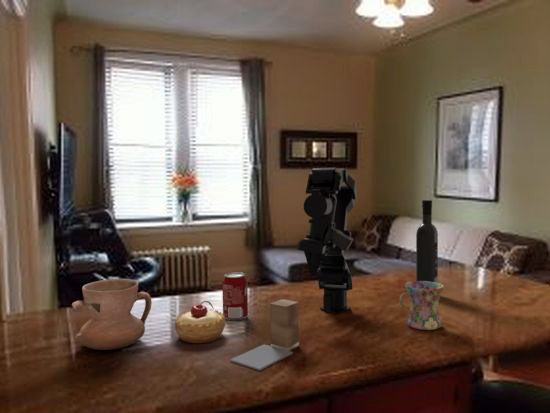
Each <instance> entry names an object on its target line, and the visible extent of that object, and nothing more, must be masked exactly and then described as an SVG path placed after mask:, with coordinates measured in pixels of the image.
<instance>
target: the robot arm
mask: <svg viewBox="0 0 550 413" xmlns="http://www.w3.org/2000/svg"><path fill="white" fill-rule="evenodd" d="M342 183H344V184H342ZM356 184H357V182H356V181H355V180H354V179H353V178H352V176H351V175H349V172H348V169H347V168H337V167H313V168H312V169H311V172H309V174H308V178H307V183H306V189H305V194H306V195H308V196H307V197H306V198H305V199H304V202H303V210H304V213H305V214H306V215H307V216H308V217H310V218H309V219H308V223H309V231H308V233H307V234H306V237H305V238H302V239H300V240H299V241H298V244H297V250H298V251H302V252H303V253H304V256H305V259H306V264H307V267H308V271H309V272H308V273H309V276H310V277H315V276H317V279H318V280H317V281H318V289H319V290H323V297H322V303H323V306H320V307H319V309H320V310H321V311H325V312H328V313H332V314H340V313H341V314H342V313H344V312H346V311H349V310H352V308H351V307H350V306H348V305H347V304H348V300H347V297H348V296H347V295H348V294H347V291H348V292H349V291H352V290H353V277H352V274H351V272H350V269H349V266H348V264H347V260H346V258H345V252H346V251H348V250H349V248H350V247H351V245H352V243H353V241H354V238H353V237H352V232H351V231H350V230H348V228H347V226H348V216H349V214H350V213H351V211H352V210H353V209H354V207H355V201H356V200H357V199H358V197H357V196H358V190H357V185H356ZM327 246H328V249H326V248H327ZM316 274H317V275H316Z"/></svg>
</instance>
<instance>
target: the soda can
mask: <svg viewBox="0 0 550 413" xmlns="http://www.w3.org/2000/svg"><path fill="white" fill-rule="evenodd" d="M223 275H224V278H223V280H222V281H221V282H222V284H221V285H222V290H221V291H222V314H223V315H224V316H225V320H228V321H231V322H236V321H243V320H244V319H245V318H246V319H247V317H248V316H249V306H248V305H249V302H248V301H249V300H248V298H249V297H248V294H249V293H248V280H247V278H246V274H245V273H243V272H227V273H225V274H223Z"/></svg>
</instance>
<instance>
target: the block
mask: <svg viewBox="0 0 550 413" xmlns="http://www.w3.org/2000/svg"><path fill="white" fill-rule="evenodd" d="M269 306H270V307H269V310H270V311H269V312H270V313H269V314H270V315H269V316H270V318H269V319H270V320H269V321H270V322H269V324H270V346H273V347H276V348H280V349H284V350H287V351H292V350H294V349H296V348H297V347H299V344H300V339H299V338H300V331H299V329H300V328H299V327H300V326H299V301H294V300H289V299H284V298H283V299H282V298H281V299H279V300H276V301H273V302H271V303H269Z"/></svg>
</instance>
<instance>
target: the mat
mask: <svg viewBox="0 0 550 413" xmlns="http://www.w3.org/2000/svg"><path fill="white" fill-rule="evenodd" d="M293 353H294V352H293V351H292V350H289V351H287V350H284V349H280V348H276V347H273V346H271V345H268V344H262V345H259V346H257V347H255V348H253V349H251V350H248V351H246V352H244V353H242V354H240V355H237V356H234V358H231V359H230V362H231V363H234V364H237V365H240V366H244V367H247V368H250V369H253V370H256V371H260V372H261V371H262V370H265V369H266V368H268V367H270V366H272V365H274V364H275V363H277V362H280V361H281V360H284V359H285V358H287V357H290V356H291V355H293Z"/></svg>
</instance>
